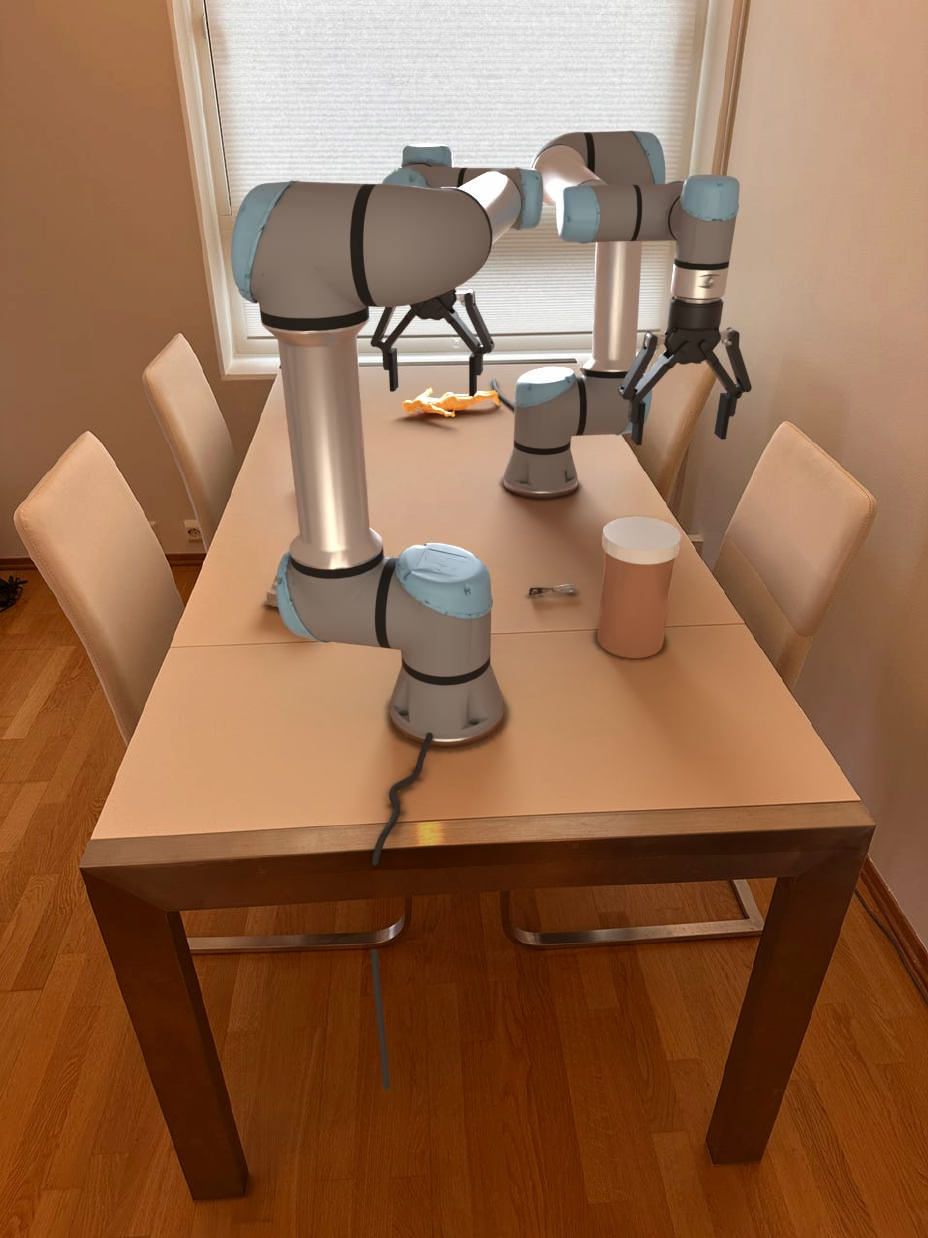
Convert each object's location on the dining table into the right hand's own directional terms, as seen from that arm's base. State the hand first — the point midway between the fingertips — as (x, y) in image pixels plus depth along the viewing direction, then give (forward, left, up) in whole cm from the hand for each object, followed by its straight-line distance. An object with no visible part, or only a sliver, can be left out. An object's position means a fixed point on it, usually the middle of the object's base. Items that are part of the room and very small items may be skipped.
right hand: (678, 439), depth 138 cm
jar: (+17, -11, -25) cm, 32 cm away
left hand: (-21, -36, +3) cm, 41 cm away
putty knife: (+2, -19, -25) cm, 32 cm away
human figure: (-92, -23, -25) cm, 98 cm away
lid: (+17, -11, -7) cm, 21 cm away
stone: (-2, -60, -25) cm, 65 cm away
